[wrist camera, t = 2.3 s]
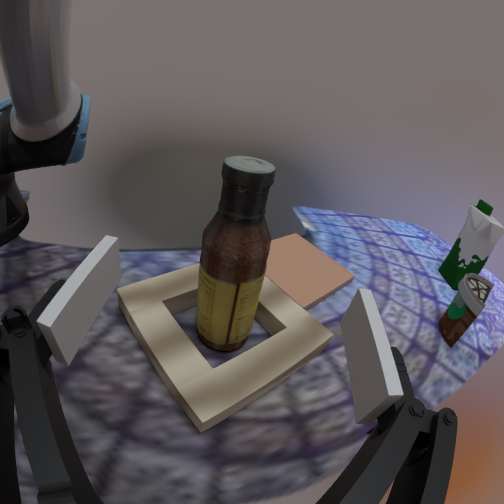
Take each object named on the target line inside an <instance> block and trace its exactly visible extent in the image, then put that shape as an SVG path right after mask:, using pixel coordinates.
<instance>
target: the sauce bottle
mask: <svg viewBox="0 0 504 504" xmlns="http://www.w3.org/2000/svg"><path fill="white" fill-rule="evenodd" d="M274 177H275V167H274V166H273V165H272V164H270V163H268V162H266V161H263V160H261V159H256V158H253V157H248V156H233V157H229V158H226V159H225V161H224V163H223V169H222V178H223V186H222V193H221V200H220V202H219V210H218V211H217V213H216V214H215V216H214V217H213V219H212V220H211V221H210V223H209V224H208V225H207V227H206V228H205V229H204V232H203V240H202V252H201V257H200V265H199V279H198V297H197V319H196V324H197V330H198V333H199V335H200V337H201V339H202V341H204V343H205V344H206V345H207V346H209V347H211V348H214V349H218V350H223V351H231V350H234V349H237V348H238V347H240V346H242V345H243V344H244V343H245V342H246V340H247V338H248V334H249V333H250V331H251V328H252V324H253V320H254V316H255V312H256V308H257V304H258V300H259V296H260V292H261V288H262V284H263V280H264V276H265V273H266V268H267V264H266V263H267V258H268V255H269V251H270V245H271V235H270V233H269V230H268V226H267V223H266V220H265V217H264V215H265V212H266V211H265V207H266V201H267V197H268V193H269V188H270V187H271V185H272V184H273V183H274Z"/></svg>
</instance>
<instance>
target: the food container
mask: <svg viewBox="0 0 504 504" xmlns="http://www.w3.org/2000/svg"><path fill="white" fill-rule="evenodd" d="M493 286H494V285H493V284H492V283H491V282H490V281H488V280H487V279H485V278H484V277H482V276H480V275H478V274H475V273H469V274H468V275H466V276H465V277H464V278H463V279H462V280H461V281H460V282H459V284H458V289H459V290H458V292H457V294H456V296H455V297H454V299H453V301H452V302H451V304H450V306H449V307H448V309H447V310H446V312H445V314H444V315H443V317H442V318H441V320H440V322H439V329H440V332H441V335H442V337H443V338H444V340H445V341H446V343H447V344H448V345H449V346H450V347H452V346H453V345H454V344H455V343H456V342H457V340H458V339H459V338H460V337H461V336H462V335H463V333H464V332H465V331H466V330H467V329H468V327H469V326H470V325H471V324H472V322H473V321H474V320H475V319H476V317H478V315H479V314H480V313H481V311H482V310H483V308H484V307H485V304H484V303H485V301H486V299H487V297H488V295H489V292H490V291H491V289H492V288H493Z"/></svg>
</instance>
